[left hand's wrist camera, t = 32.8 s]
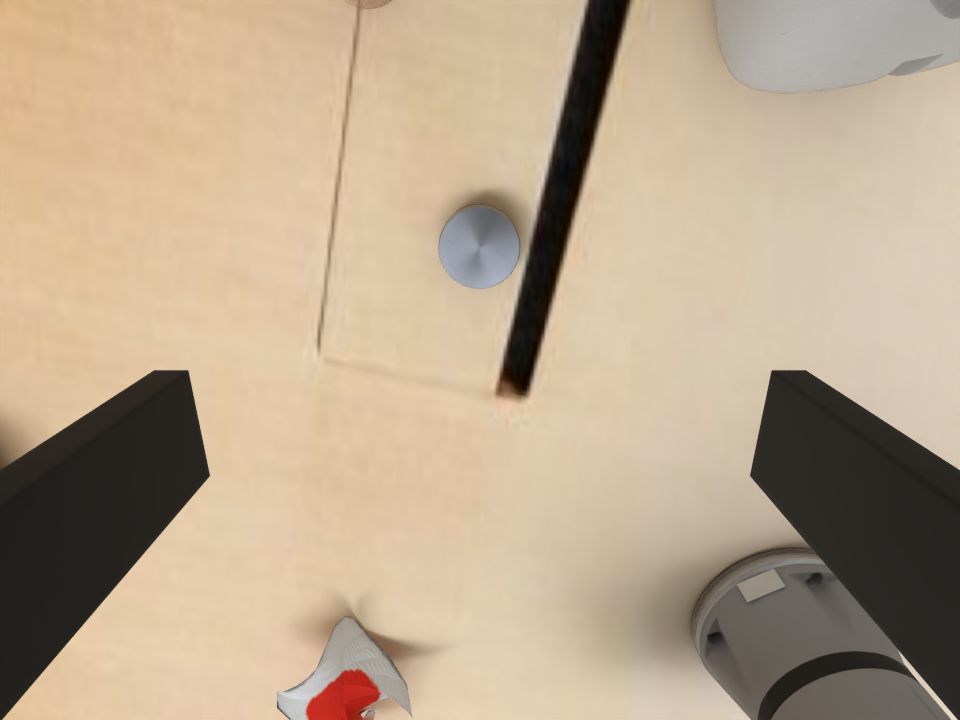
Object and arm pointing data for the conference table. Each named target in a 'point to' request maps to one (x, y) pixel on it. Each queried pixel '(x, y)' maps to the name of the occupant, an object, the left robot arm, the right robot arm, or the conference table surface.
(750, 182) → the conference table surface
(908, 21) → the projector
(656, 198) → the conference table surface
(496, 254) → the lid
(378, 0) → the jar
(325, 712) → the fish
